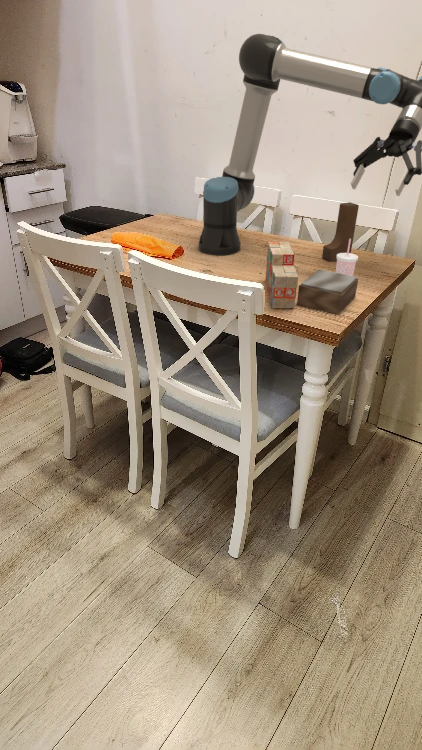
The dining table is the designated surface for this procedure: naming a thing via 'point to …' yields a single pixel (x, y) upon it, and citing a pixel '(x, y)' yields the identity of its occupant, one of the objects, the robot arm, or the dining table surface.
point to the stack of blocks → (281, 275)
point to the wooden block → (342, 232)
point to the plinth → (327, 291)
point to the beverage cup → (346, 262)
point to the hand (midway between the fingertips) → (374, 189)
